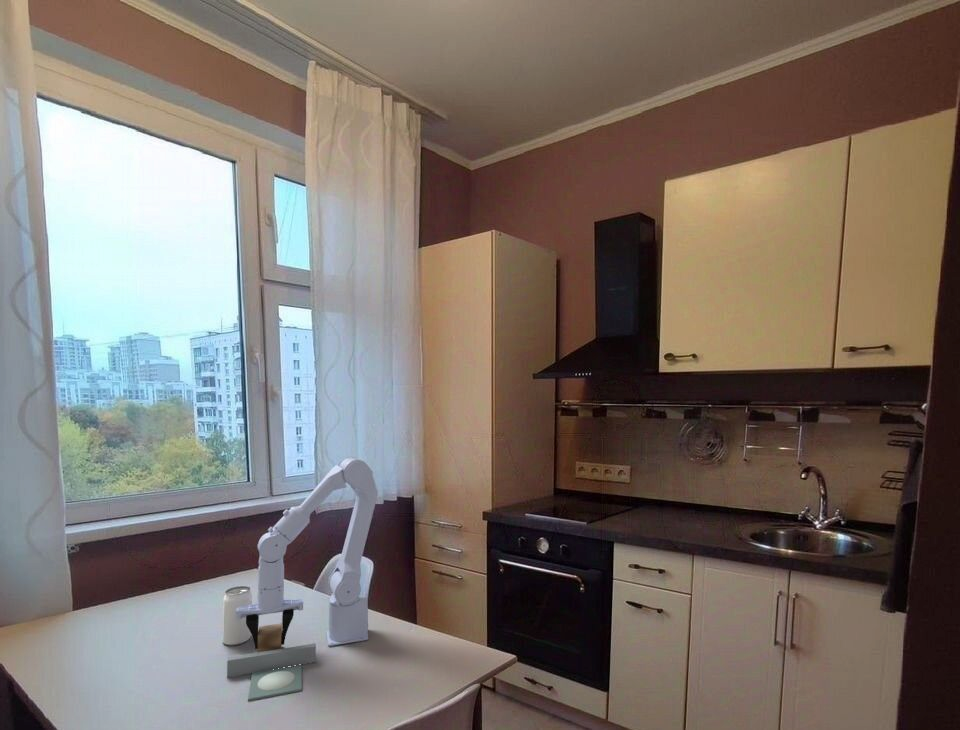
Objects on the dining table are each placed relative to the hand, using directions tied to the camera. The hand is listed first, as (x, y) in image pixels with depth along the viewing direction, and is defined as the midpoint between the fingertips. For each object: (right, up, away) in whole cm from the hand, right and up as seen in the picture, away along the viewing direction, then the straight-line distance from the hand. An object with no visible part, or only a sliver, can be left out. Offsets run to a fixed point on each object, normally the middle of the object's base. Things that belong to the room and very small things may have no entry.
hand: (269, 645), depth 118 cm
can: (-11, -3, +7) cm, 13 cm away
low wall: (+3, -1, -7) cm, 8 cm away
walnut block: (0, -1, 0) cm, 1 cm away
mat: (+7, -1, -13) cm, 14 cm away
